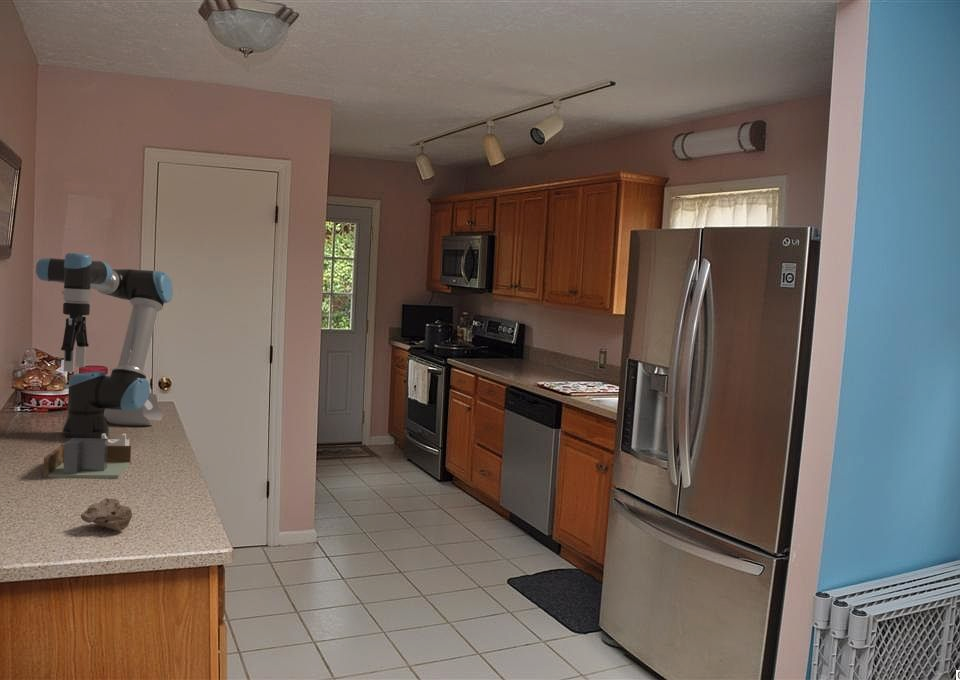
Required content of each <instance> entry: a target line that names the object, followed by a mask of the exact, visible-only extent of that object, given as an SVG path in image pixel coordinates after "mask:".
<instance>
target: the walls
mask: <svg viewBox="0 0 960 680" xmlns="http://www.w3.org/2000/svg"><path fill="white" fill-rule="evenodd" d="M131 461H132V445H129V446H109V445H108V453H107V462H130V463H131ZM63 462H64V444H61V445H59V446H58V447H56V448H55V449H54V450H52V451H51V452H50V453H48V454H47V455H46V456H44V457H43V476H44V475H45V476H46V475H47V476H46V477H45V478H49V477H48V474H50V473H51V472H52V471H53V470H55V469H56V468H57V467H58V466H60V465H61V464H62V463H63Z"/></svg>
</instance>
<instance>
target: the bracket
mask: <svg viewBox="0 0 960 680" xmlns="http://www.w3.org/2000/svg"><path fill="white" fill-rule="evenodd" d="M101 438H102V439H108V445H109V446H130V439H129V438H128V439H127V433H122V435H121V438H120V439H119V438H118V439H113V438H112V439H111V438H110V439H109V438H108V436H107V437H106V434H102V435H101Z"/></svg>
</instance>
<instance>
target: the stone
mask: <svg viewBox="0 0 960 680" xmlns="http://www.w3.org/2000/svg"><path fill="white" fill-rule="evenodd" d="M132 516H133V513H132V509H131V508H130V507H129V506H126V505H121V503H120V500H119V499H117V498H107V497H106V498H104V499H102V500H101V501H100V502H95V503H92V504H90V505H89V506H88V507H87V510H86V511H84V512H82V513H81V514H80V519H81V520H82V521H83V522H86V523H89V524H91V523H93V524H97V525H99V526H102V527H104V528H108V529H111V530H112V529H113V530H116V531H119V532H121V531H124V530H125V529H126V528H128V526H129V523H130V521H131V519H132V518H133V517H132Z"/></svg>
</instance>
